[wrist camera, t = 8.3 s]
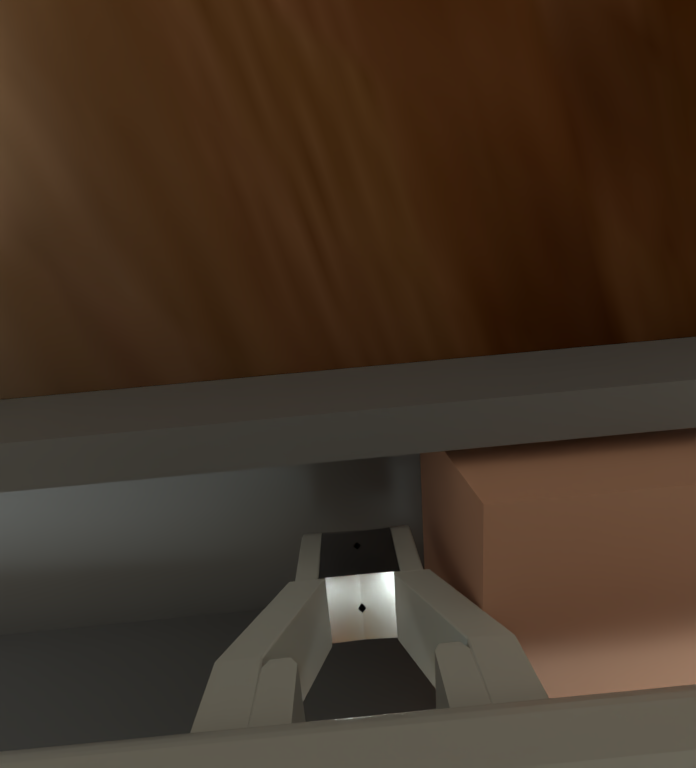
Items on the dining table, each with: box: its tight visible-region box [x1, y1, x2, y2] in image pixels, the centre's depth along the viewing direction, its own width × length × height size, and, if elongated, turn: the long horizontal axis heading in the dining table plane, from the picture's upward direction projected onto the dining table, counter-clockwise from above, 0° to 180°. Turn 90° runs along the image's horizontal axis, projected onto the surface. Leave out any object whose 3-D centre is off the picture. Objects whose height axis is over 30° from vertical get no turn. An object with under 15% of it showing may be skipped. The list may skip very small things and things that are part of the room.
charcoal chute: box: [0, 337, 696, 751], centre depth 9 cm, size 9×32×4 cm, turn 95°
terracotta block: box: [420, 428, 696, 698], centre depth 8 cm, size 6×6×4 cm
